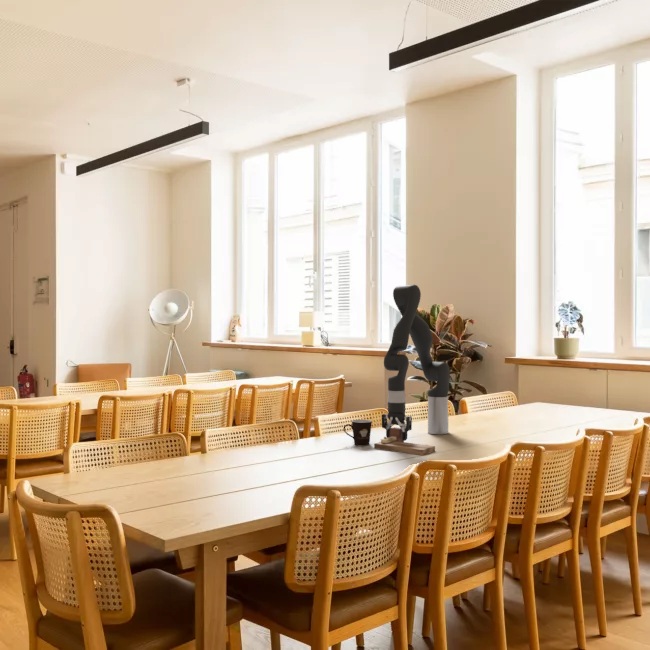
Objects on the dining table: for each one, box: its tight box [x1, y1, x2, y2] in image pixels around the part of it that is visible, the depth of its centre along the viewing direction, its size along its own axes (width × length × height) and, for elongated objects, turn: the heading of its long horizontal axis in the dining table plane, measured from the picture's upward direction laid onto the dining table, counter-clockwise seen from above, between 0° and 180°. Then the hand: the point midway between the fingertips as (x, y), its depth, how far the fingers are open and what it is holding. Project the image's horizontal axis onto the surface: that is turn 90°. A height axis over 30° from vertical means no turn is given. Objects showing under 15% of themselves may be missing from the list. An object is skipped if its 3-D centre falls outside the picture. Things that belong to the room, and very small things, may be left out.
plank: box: [373, 441, 436, 456], centre depth 294 cm, size 10×23×2 cm, turn 52°
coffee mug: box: [343, 418, 373, 447], centre depth 307 cm, size 12×9×10 cm
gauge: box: [380, 426, 404, 443], centre depth 302 cm, size 12×4×7 cm, turn 142°
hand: (396, 439), depth 305 cm, fingers open, 7 cm apart
